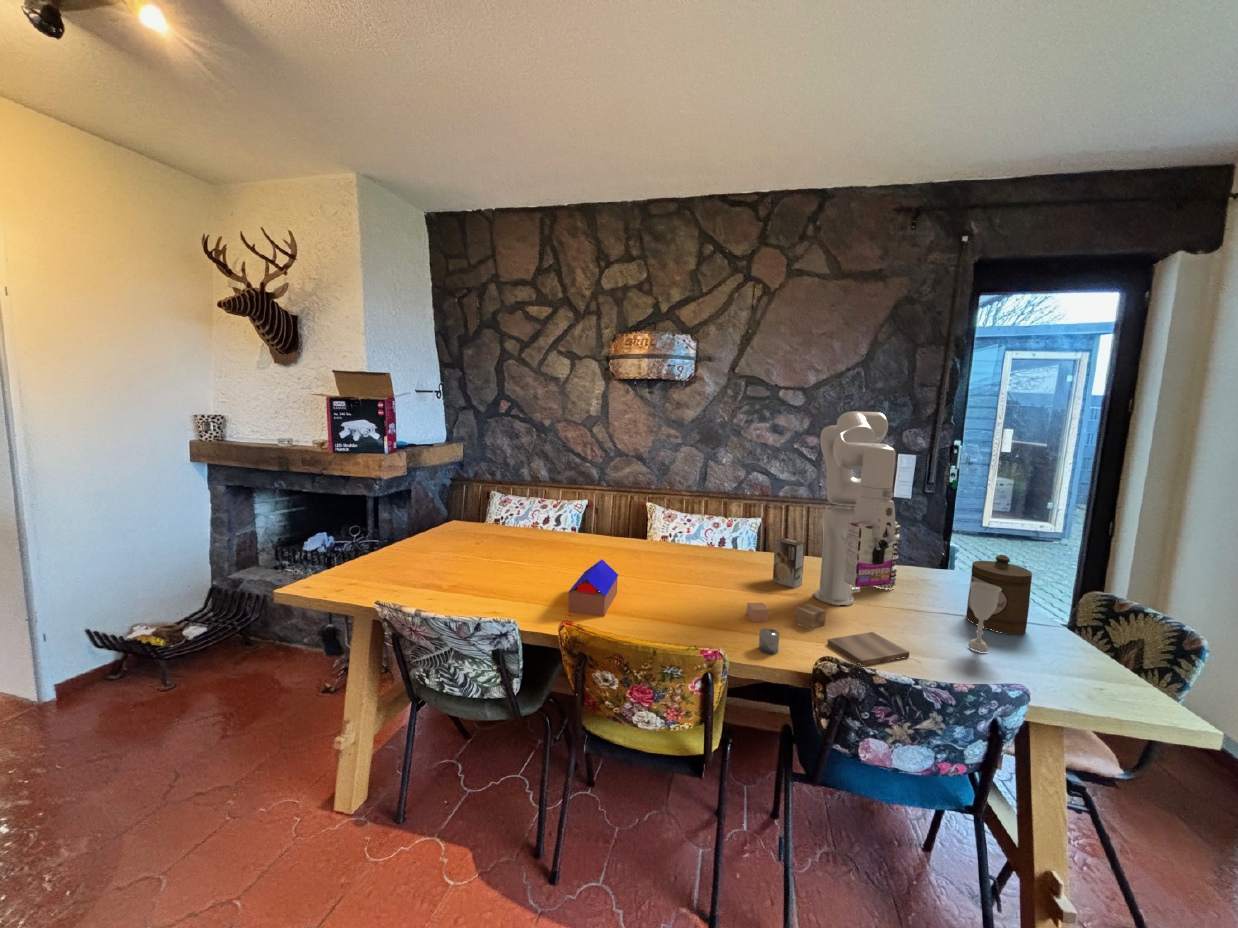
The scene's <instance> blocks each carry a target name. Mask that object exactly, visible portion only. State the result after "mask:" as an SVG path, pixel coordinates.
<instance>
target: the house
mask: <svg viewBox="0 0 1238 928" xmlns="http://www.w3.org/2000/svg"><path fill="white" fill-rule="evenodd" d="M618 577H619V574H618V573H617V571H615V570H614V569H613V568H612V567H611V566H610V565H609V564H608V563H607V562H606V561H604V559H602V558H601V559H600V560H598V561H597V562H596V563H595V564H593V565H592V566H590V567H589V568H587V570H585V571H583V573H582V575H581V576H580V577H579V578H578V579H577V581H576V582H575V583H574V585H572V586H571V588H570V589H569V590H568V592H567V593H568V613H569V614H579V615H587V616H597V617H605V615H606V614H607V613H608V610H609V609H610V607H611V605H612V603H613V602H614V599H615V598H616V596H617V594H618ZM598 591H600V592H598ZM609 606H610V607H609ZM608 608H609V609H608Z"/></svg>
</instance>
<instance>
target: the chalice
mask: <svg viewBox="0 0 1238 928" xmlns="http://www.w3.org/2000/svg"><path fill="white" fill-rule="evenodd" d="M970 586H971V594H970V604H971V608H972V610H973V612H974V615H975V617H976V618H978V619H979V623H978V625H977V626H976V627H977V630H976V631H975V633H976V637H975V638H972V639H971V640H969V642H968V644H967V645H968V646H969V648H972V649H974V650H977V651H980V652H987V651H989V649H988V645H987V644H986V642H985V641H984V640H983V639H982V636H983V635H984V631H983V627H984V626H983V621H984V620H988V618H989V617H990V616H991V615H992V614H993V613H994V611H995V609H996V608H997V604H998V596H999V593H1000V591H1001V590H1002V589H1001V588H1000V587H998V586H995V585H992V584H987V583H981V582H972V583H971V582H969V587H970Z"/></svg>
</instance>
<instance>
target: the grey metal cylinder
mask: <svg viewBox="0 0 1238 928" xmlns="http://www.w3.org/2000/svg"><path fill="white" fill-rule="evenodd" d="M758 638H759V640H758V650H759V651H760V653H763V654H766V655H772V656H773V655H777V654H778V653H779V646H780V645H779V643H780V632H779V631H778V630H776V629H773V628H770V627H769V628H768V627H767V628H765V627H764V628H761V629H759V637H758Z"/></svg>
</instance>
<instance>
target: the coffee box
mask: <svg viewBox="0 0 1238 928" xmlns="http://www.w3.org/2000/svg"><path fill="white" fill-rule="evenodd" d="M805 543H806V542H803V541H798V540H796V539H795V540H794V539H790V538H786V537H780V538H778V539H775V540H774V553H773V554H774V555H773V567H772V568H773V570H772V571H773V572H772V573H773V574H772V582H773V583H776V582H777V583H776V584H780V585H783V586H787V587H789V588H793V589H796V588H798V587H800V586H802V585H803V576H804V575H803V574H804V561H805V560H804V559H805V547H806V545H805Z"/></svg>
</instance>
